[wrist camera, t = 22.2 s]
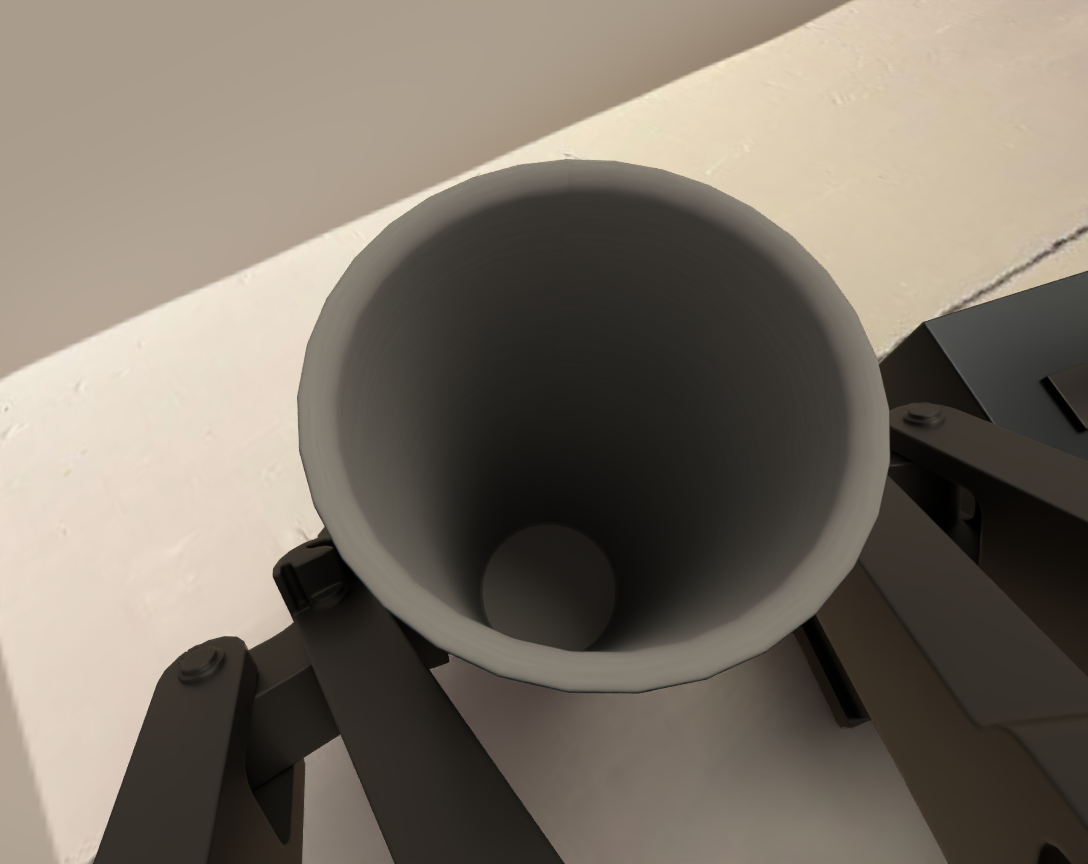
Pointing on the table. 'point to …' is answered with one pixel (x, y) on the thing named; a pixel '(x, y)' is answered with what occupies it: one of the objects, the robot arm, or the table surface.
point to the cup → (593, 426)
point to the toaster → (983, 403)
